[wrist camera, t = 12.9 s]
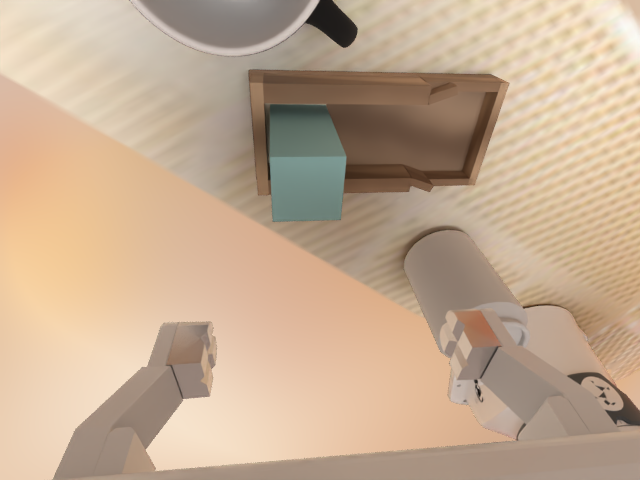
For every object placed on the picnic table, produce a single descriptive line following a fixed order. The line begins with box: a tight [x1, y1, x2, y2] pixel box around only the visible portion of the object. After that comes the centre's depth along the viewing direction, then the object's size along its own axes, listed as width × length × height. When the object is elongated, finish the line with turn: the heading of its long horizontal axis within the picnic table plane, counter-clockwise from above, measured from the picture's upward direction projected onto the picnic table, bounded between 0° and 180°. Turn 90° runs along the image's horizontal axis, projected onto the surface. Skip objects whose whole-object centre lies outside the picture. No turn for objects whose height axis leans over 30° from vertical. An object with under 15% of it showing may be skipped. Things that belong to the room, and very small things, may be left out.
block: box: [270, 104, 347, 222], centre depth 23 cm, size 4×4×9 cm
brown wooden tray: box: [249, 70, 509, 195], centre depth 27 cm, size 8×18×4 cm, turn 88°
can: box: [404, 230, 530, 358], centre depth 33 cm, size 8×8×12 cm
